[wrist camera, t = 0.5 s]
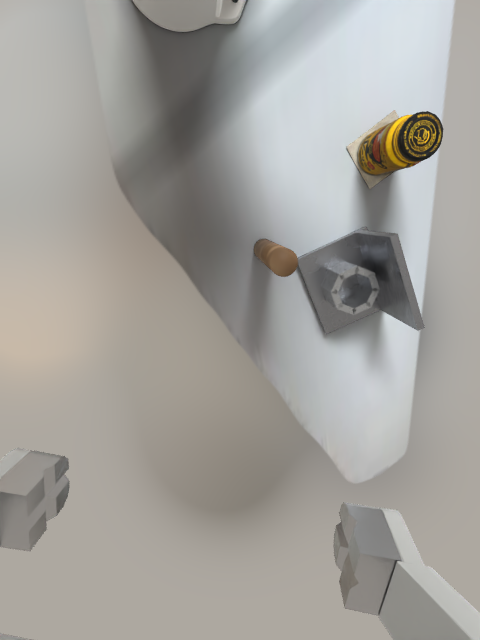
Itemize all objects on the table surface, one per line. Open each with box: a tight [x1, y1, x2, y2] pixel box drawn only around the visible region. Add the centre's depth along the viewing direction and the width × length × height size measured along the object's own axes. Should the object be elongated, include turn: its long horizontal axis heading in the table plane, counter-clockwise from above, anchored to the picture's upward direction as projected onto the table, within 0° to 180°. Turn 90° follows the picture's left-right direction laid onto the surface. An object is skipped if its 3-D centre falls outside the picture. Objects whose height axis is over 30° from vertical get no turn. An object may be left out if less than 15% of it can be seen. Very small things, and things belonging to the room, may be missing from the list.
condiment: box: [347, 110, 443, 189], centre depth 45 cm, size 7×8×12 cm
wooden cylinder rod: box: [254, 239, 298, 277], centre depth 46 cm, size 3×3×16 cm
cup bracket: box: [298, 227, 424, 334], centre depth 50 cm, size 12×14×12 cm
